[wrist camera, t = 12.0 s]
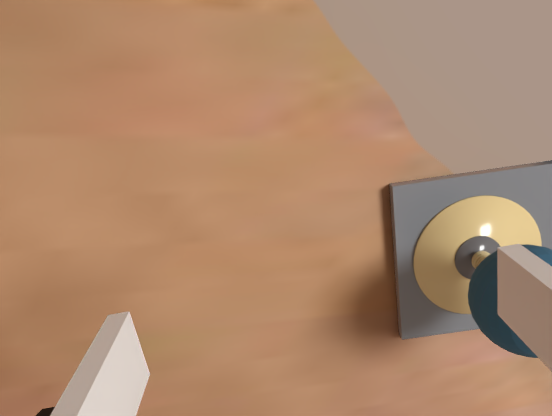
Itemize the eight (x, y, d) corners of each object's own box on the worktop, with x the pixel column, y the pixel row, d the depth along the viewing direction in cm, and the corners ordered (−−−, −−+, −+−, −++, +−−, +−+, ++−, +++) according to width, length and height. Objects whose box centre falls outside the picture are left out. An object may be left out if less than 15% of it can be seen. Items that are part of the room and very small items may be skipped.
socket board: (389, 183, 40) (394, 187, 38) (553, 160, 39) (564, 163, 38) (398, 333, 44) (403, 342, 43) (545, 313, 44) (554, 321, 43)
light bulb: (425, 230, 39) (493, 295, 28) (516, 203, 39) (623, 257, 28) (443, 308, 42) (512, 396, 31) (528, 283, 41) (630, 363, 30)
